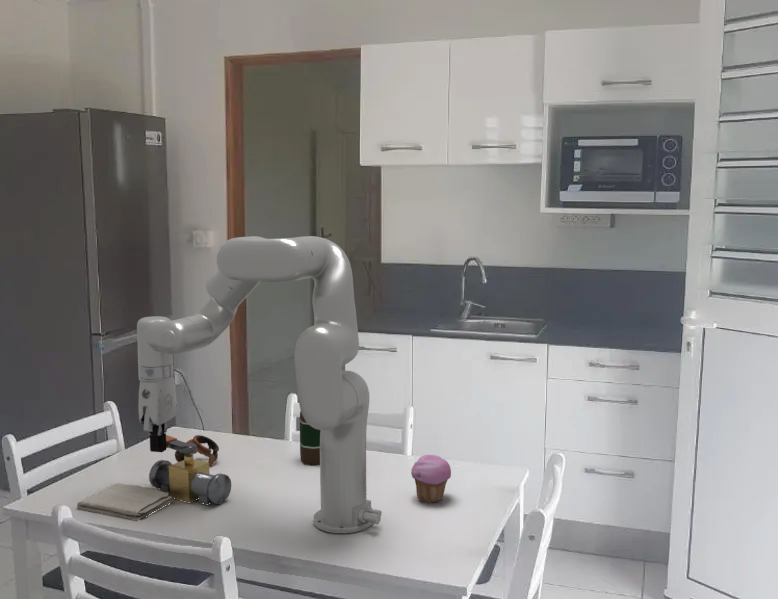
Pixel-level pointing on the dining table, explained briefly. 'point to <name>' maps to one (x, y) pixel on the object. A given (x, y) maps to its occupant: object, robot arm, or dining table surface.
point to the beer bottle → (309, 443)
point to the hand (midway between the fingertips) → (158, 450)
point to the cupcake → (431, 477)
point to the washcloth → (126, 501)
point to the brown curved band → (202, 449)
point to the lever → (181, 446)
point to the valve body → (190, 481)
